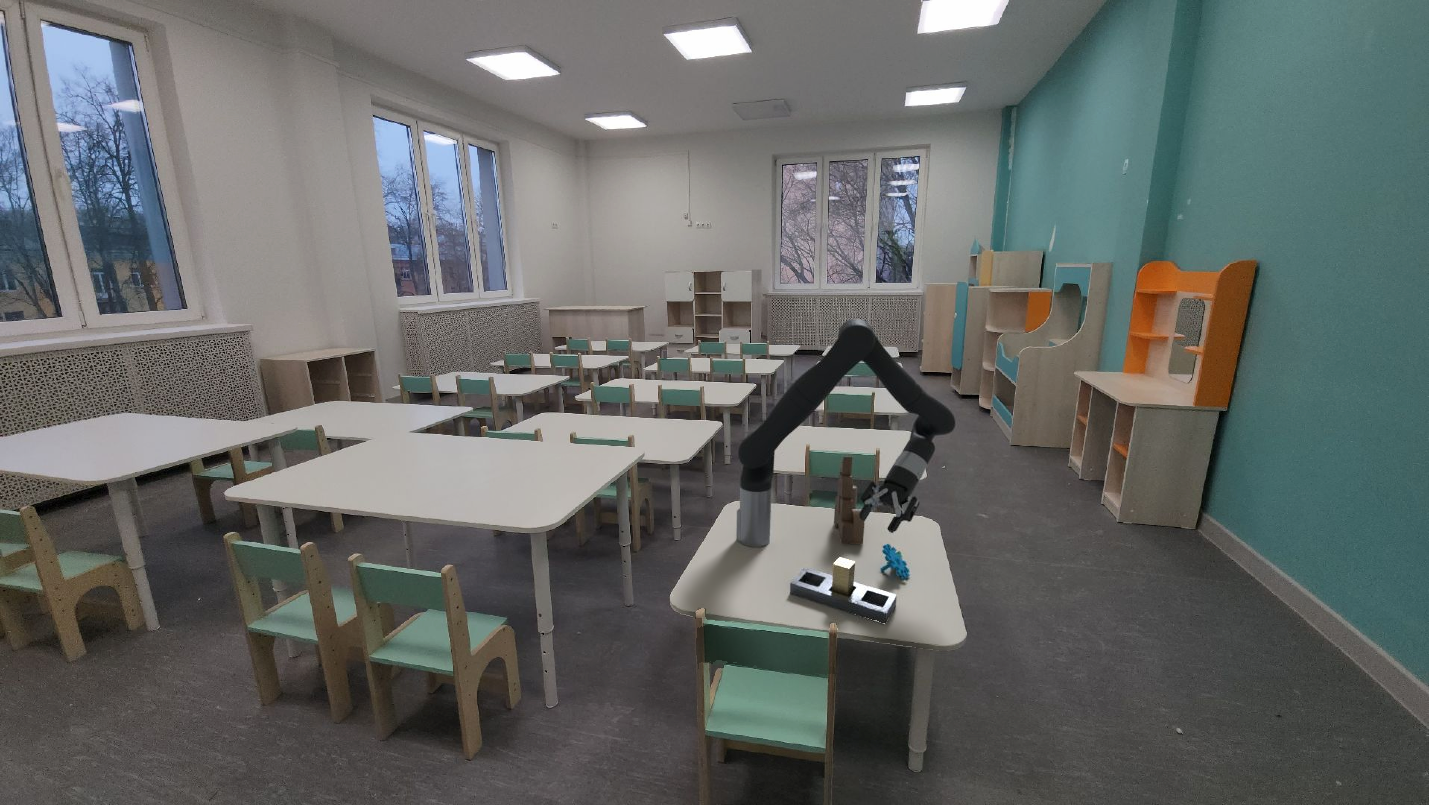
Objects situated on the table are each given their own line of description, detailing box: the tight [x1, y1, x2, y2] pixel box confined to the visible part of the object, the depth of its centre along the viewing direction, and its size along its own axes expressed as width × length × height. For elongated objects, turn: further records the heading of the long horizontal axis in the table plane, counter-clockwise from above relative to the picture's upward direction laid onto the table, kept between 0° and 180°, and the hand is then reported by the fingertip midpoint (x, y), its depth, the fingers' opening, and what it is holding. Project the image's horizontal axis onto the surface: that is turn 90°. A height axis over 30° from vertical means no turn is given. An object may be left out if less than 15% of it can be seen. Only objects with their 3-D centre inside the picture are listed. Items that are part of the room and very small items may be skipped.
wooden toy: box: [833, 455, 865, 545], centre depth 175 cm, size 16×7×25 cm, turn 178°
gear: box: [879, 543, 911, 580], centre depth 155 cm, size 11×6×10 cm
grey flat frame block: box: [789, 566, 898, 624], centre depth 142 cm, size 24×9×3 cm, turn 58°
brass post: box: [832, 556, 856, 597], centre depth 141 cm, size 4×4×10 cm
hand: (875, 525), depth 145 cm, fingers open, 8 cm apart
